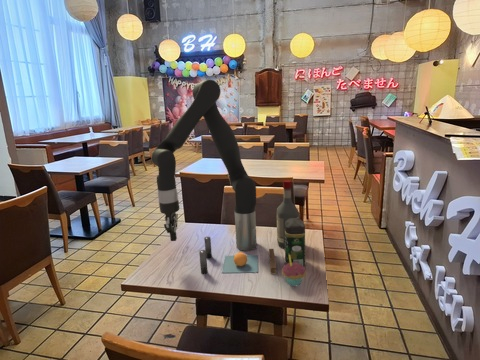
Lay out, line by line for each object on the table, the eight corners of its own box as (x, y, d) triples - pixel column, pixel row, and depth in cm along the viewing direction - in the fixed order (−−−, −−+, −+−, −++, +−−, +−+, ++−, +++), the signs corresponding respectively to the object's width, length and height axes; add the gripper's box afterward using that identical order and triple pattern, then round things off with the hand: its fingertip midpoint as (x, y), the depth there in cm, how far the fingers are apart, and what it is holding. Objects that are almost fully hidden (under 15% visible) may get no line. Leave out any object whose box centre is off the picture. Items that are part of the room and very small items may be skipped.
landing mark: (257, 255, 136) (257, 254, 136) (257, 272, 123) (257, 272, 123) (225, 256, 137) (225, 255, 137) (221, 273, 124) (221, 272, 124)
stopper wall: (273, 253, 137) (273, 248, 136) (276, 273, 121) (276, 267, 121) (269, 254, 137) (268, 248, 136) (270, 273, 122) (270, 267, 121)
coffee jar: (284, 258, 133) (283, 216, 128) (303, 258, 132) (303, 216, 128) (285, 270, 123) (285, 225, 119) (306, 270, 123) (306, 225, 118)
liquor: (295, 239, 150) (295, 178, 143) (300, 248, 141) (299, 183, 134) (276, 240, 150) (275, 179, 142) (279, 249, 141) (278, 184, 134)
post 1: (208, 270, 126) (206, 249, 124) (207, 274, 123) (205, 253, 121) (201, 270, 126) (199, 250, 124) (200, 274, 123) (198, 253, 121)
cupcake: (291, 291, 110) (290, 259, 107) (277, 280, 117) (276, 250, 114) (310, 284, 114) (311, 253, 111) (296, 273, 121) (296, 244, 118)
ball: (245, 248, 130) (232, 252, 131) (243, 254, 124) (230, 258, 125) (249, 260, 131) (237, 264, 132) (248, 266, 125) (235, 270, 126)
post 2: (212, 255, 138) (210, 236, 136) (211, 258, 136) (210, 239, 133) (206, 255, 138) (204, 236, 136) (205, 258, 136) (203, 239, 134)
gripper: (174, 204, 118) (179, 247, 122) (181, 194, 131) (186, 233, 135) (154, 205, 118) (160, 248, 122) (163, 195, 131) (168, 234, 135)
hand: (173, 240), depth 129 cm, fingers closed
